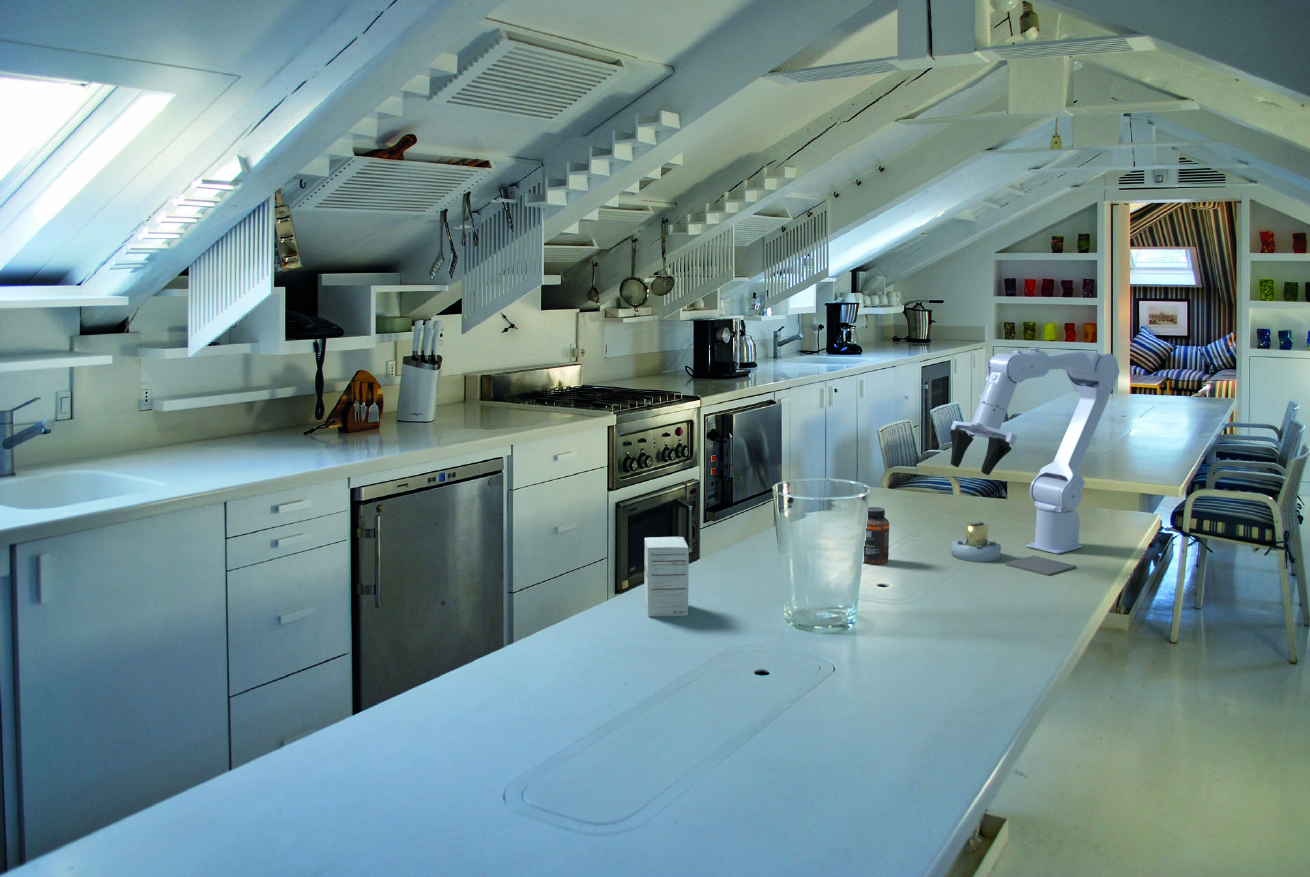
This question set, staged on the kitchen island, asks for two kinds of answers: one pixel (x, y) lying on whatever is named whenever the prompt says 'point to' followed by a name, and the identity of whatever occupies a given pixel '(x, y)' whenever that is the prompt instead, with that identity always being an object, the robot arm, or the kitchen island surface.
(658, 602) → the supplement box
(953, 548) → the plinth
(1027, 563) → the mat
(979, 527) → the knob
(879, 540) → the supplement bottle
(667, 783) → the kitchen island surface
